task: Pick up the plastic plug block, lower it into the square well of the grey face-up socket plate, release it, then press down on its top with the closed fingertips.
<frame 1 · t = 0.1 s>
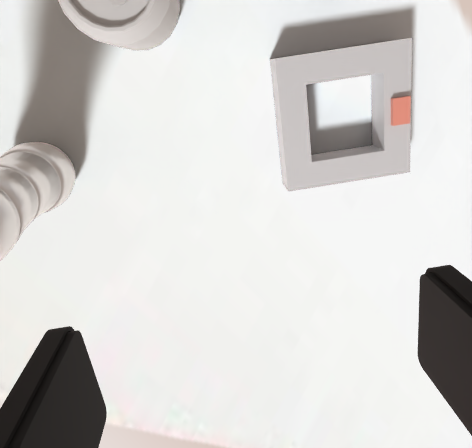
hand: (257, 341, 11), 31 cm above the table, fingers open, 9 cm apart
can: (137, 4, 35), on the table
plastic bottle: (46, 170, 40), on the table
socket plate: (336, 115, 40), on the table
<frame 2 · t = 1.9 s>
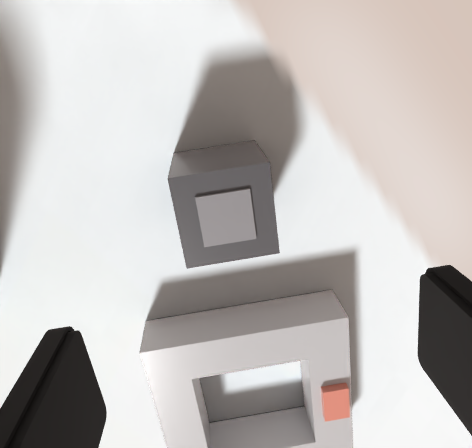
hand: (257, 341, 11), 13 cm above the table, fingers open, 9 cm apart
plug: (220, 185, 23), on the table
socket plate: (251, 377, 28), on the table
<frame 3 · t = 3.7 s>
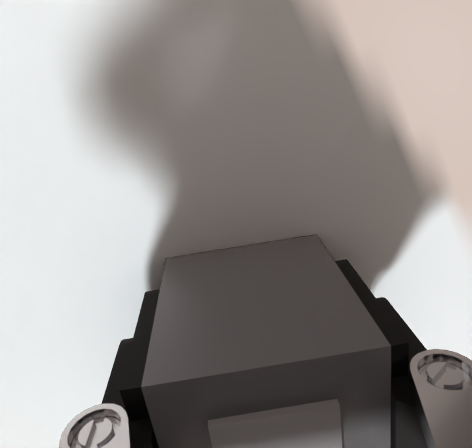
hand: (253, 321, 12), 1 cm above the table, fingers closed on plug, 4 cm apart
plug: (251, 310, 13), on the table, touching gripper
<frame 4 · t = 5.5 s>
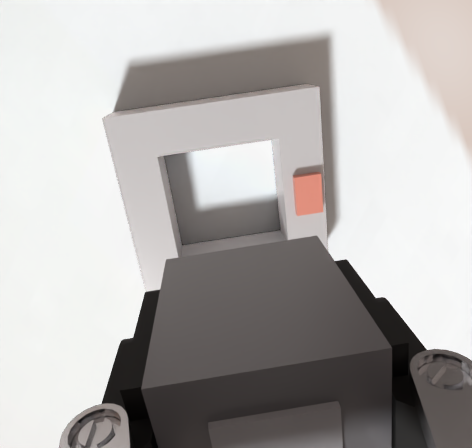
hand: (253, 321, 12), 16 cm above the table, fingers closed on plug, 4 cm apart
plug: (251, 311, 12), point 16 cm above the table, touching gripper
socket plate: (224, 190, 27), on the table
when the fingers open (3 cm above the table, at t = 7.5 s): plug drops 3 cm, resting in socket plate.
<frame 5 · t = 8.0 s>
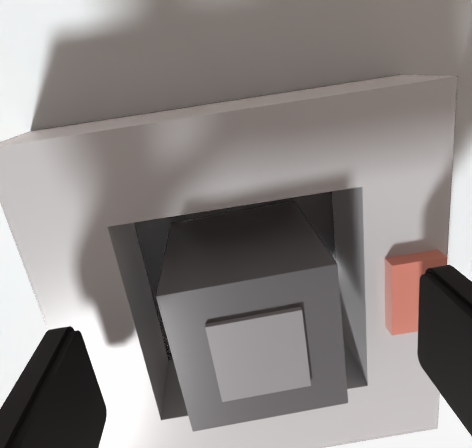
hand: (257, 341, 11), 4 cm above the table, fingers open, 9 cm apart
plug: (242, 266, 15), resting in socket plate
socket plate: (242, 269, 15), on the table
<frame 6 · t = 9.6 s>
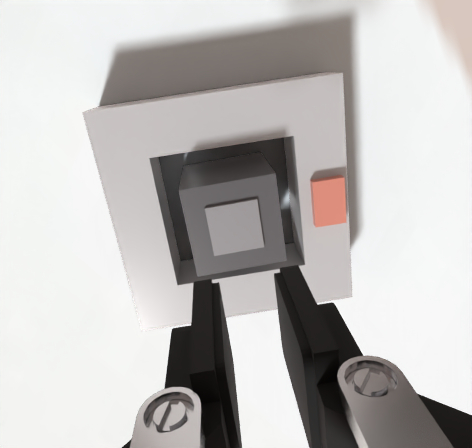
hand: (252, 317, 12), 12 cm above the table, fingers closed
plug: (228, 195, 24), resting in socket plate
socket plate: (228, 197, 23), on the table
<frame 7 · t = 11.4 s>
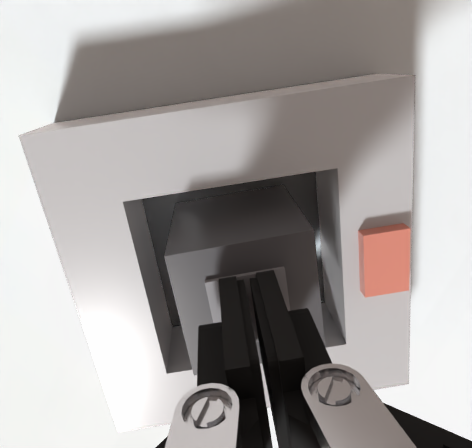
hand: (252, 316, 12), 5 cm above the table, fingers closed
plug: (237, 242, 17), resting in socket plate
socket plate: (238, 245, 17), on the table
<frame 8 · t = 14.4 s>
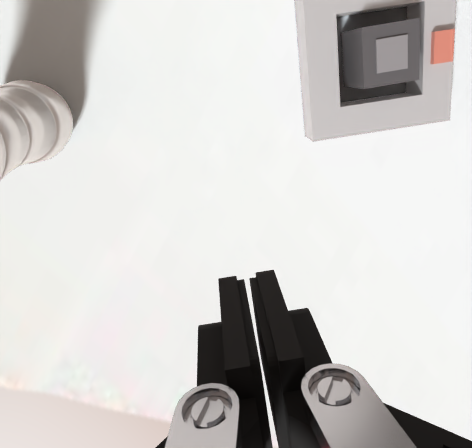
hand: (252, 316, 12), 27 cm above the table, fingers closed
plastic bottle: (41, 118, 36), on the table
plug: (366, 56, 36), resting in socket plate
socket plate: (367, 57, 35), on the table
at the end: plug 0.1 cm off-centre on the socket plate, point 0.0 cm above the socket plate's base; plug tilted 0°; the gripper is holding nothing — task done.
